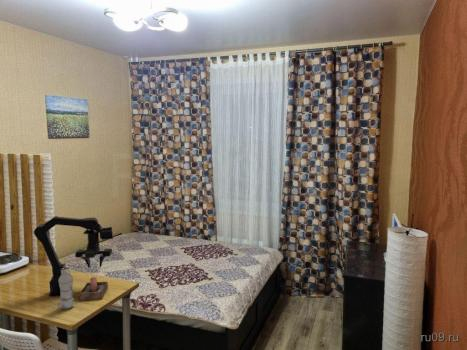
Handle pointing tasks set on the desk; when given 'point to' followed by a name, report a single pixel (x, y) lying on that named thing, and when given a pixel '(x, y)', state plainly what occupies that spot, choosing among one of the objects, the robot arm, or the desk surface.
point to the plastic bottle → (66, 289)
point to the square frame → (89, 295)
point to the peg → (93, 284)
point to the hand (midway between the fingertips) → (94, 267)
